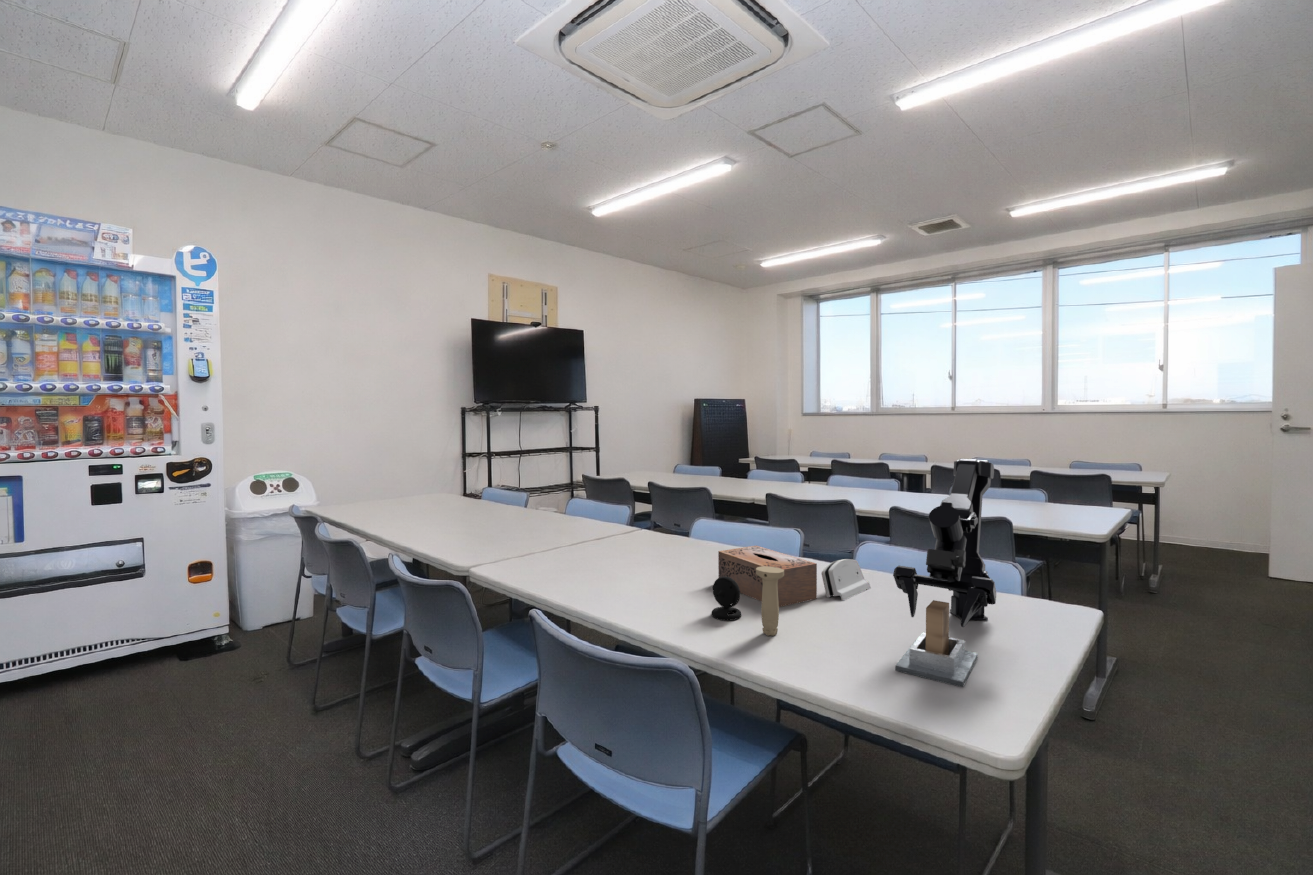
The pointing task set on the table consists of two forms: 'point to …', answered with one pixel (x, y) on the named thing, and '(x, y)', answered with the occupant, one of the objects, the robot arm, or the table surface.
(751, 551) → the tissue box cover
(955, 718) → the table surface
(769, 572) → the handle
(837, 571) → the hinge
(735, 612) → the webcam
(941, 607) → the tan tall block
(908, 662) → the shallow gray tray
